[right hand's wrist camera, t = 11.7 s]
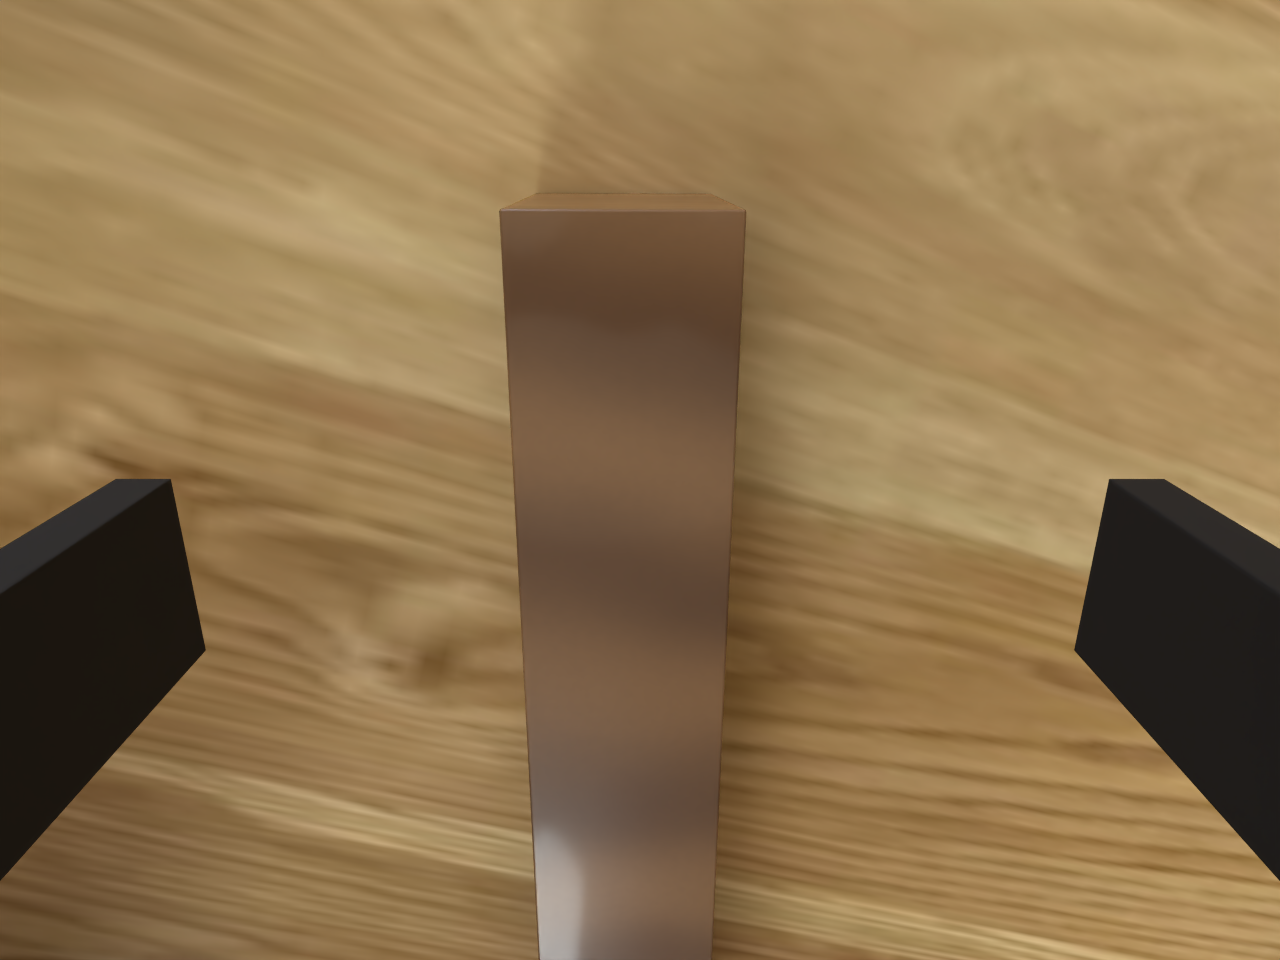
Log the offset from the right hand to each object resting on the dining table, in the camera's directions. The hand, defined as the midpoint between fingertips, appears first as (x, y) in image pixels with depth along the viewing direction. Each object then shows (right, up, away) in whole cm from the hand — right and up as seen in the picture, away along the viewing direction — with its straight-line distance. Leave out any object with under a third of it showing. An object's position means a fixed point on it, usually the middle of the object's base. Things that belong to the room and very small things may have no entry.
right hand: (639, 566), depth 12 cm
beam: (-1, -18, +24) cm, 30 cm away
